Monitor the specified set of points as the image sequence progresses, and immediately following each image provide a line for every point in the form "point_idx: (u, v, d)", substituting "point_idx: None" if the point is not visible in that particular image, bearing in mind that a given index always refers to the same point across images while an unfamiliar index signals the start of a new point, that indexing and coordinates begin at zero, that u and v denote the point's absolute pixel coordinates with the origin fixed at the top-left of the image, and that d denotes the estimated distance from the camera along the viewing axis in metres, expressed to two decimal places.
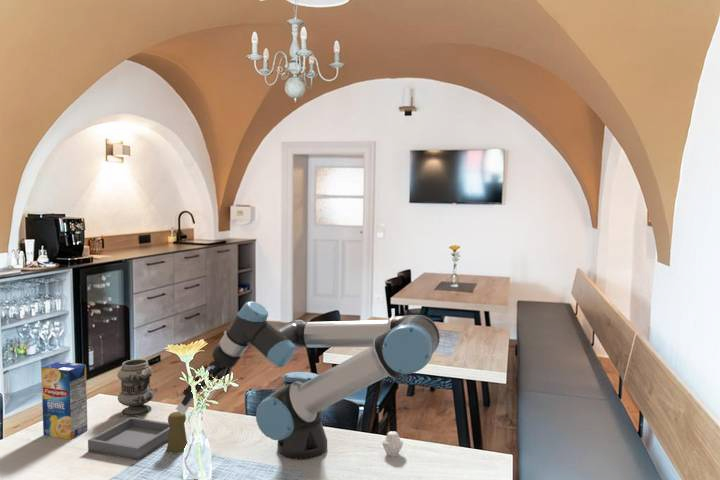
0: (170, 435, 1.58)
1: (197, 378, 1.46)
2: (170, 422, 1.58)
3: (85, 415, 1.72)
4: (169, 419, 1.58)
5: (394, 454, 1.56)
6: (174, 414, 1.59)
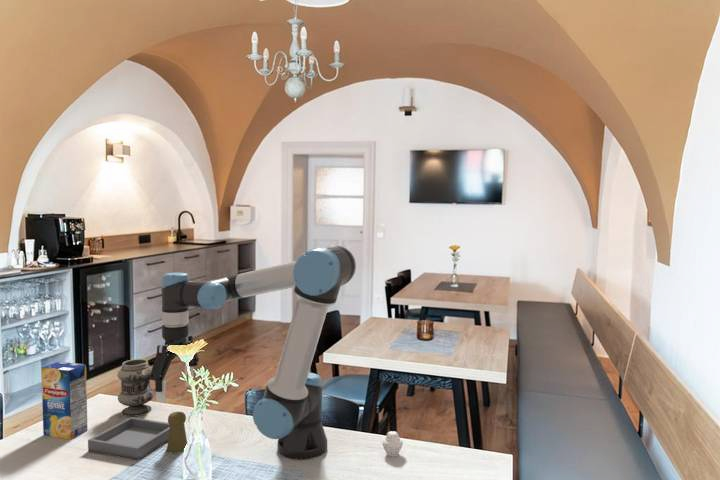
0: (170, 435, 1.58)
1: (156, 360, 1.51)
2: (170, 422, 1.58)
3: (85, 415, 1.72)
4: (169, 419, 1.58)
5: (394, 454, 1.56)
6: (174, 414, 1.59)
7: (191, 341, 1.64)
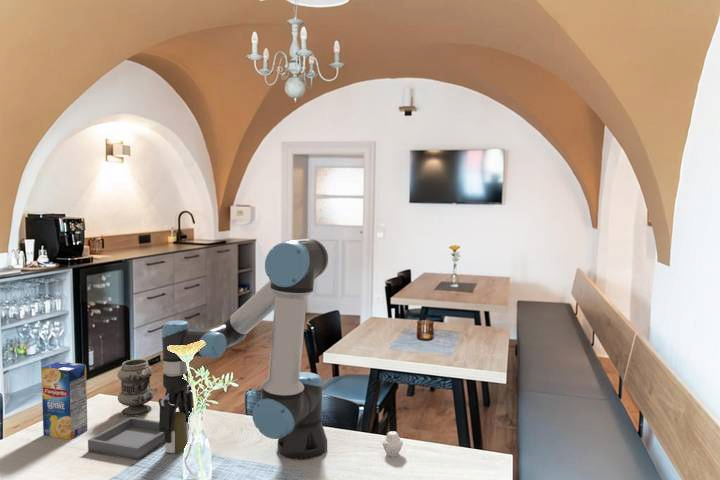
0: None
1: (161, 413, 1.54)
2: None
3: (85, 415, 1.72)
4: None
5: (394, 454, 1.56)
6: None
7: None
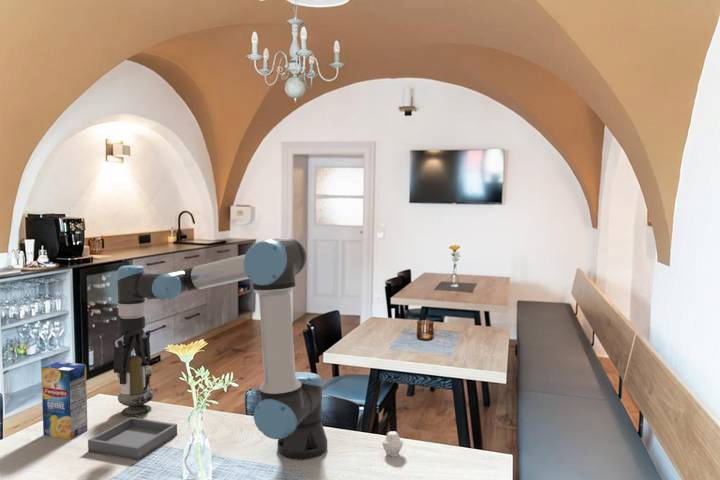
0: None
1: (115, 354, 1.56)
2: None
3: (85, 415, 1.72)
4: None
5: (394, 454, 1.56)
6: None
7: (148, 337, 1.67)
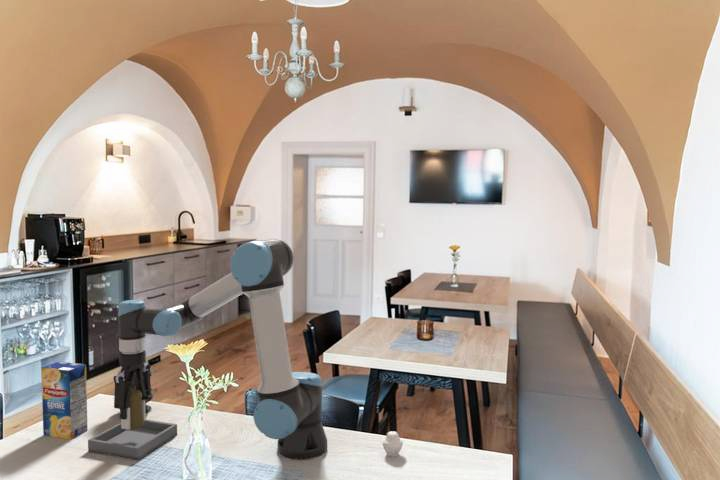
0: None
1: (115, 390, 1.57)
2: None
3: (85, 415, 1.72)
4: None
5: (394, 454, 1.56)
6: None
7: (148, 370, 1.68)
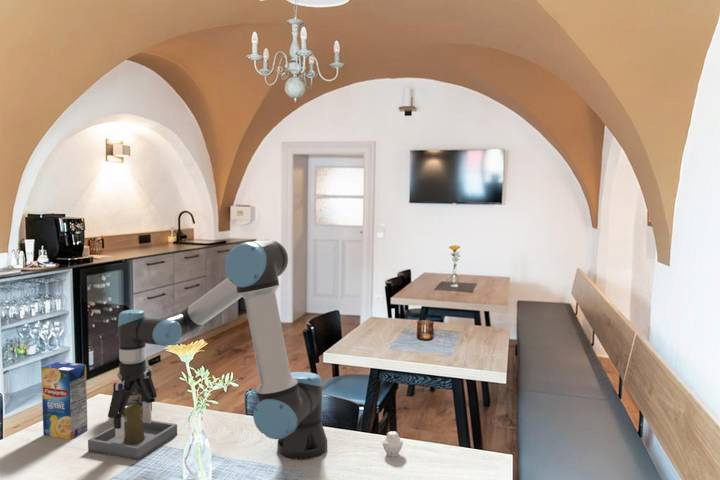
0: (127, 427, 1.62)
1: (113, 398, 1.56)
2: (127, 414, 1.61)
3: (85, 415, 1.72)
4: (126, 411, 1.61)
5: (394, 454, 1.56)
6: (131, 407, 1.62)
7: (149, 376, 1.68)
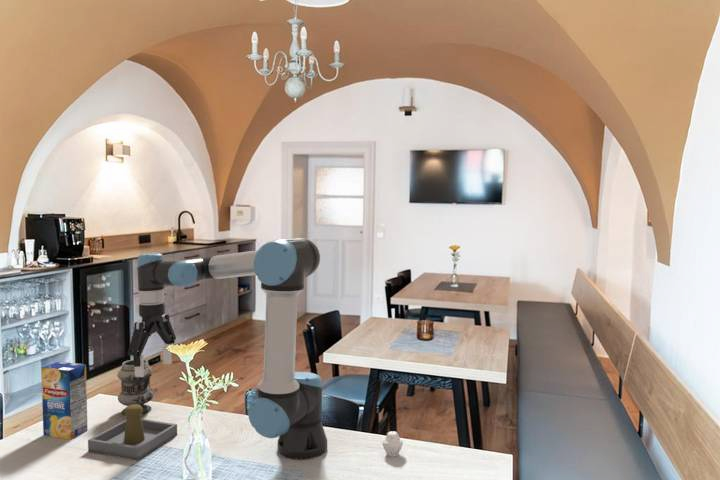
0: (126, 427, 1.62)
1: (133, 336, 1.58)
2: (126, 414, 1.61)
3: (85, 415, 1.72)
4: (125, 411, 1.61)
5: (394, 454, 1.56)
6: (130, 406, 1.62)
7: (168, 319, 1.71)
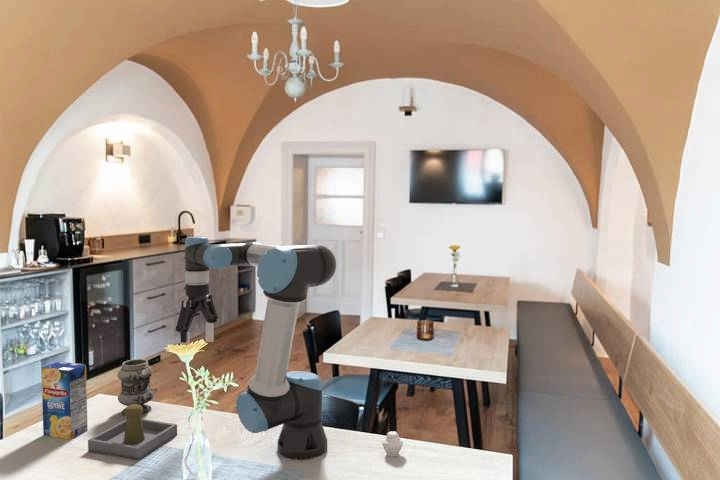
0: (126, 427, 1.62)
1: (181, 313, 1.68)
2: (126, 414, 1.61)
3: (85, 415, 1.72)
4: (125, 411, 1.61)
5: (394, 454, 1.56)
6: (131, 407, 1.62)
7: (211, 300, 1.81)
